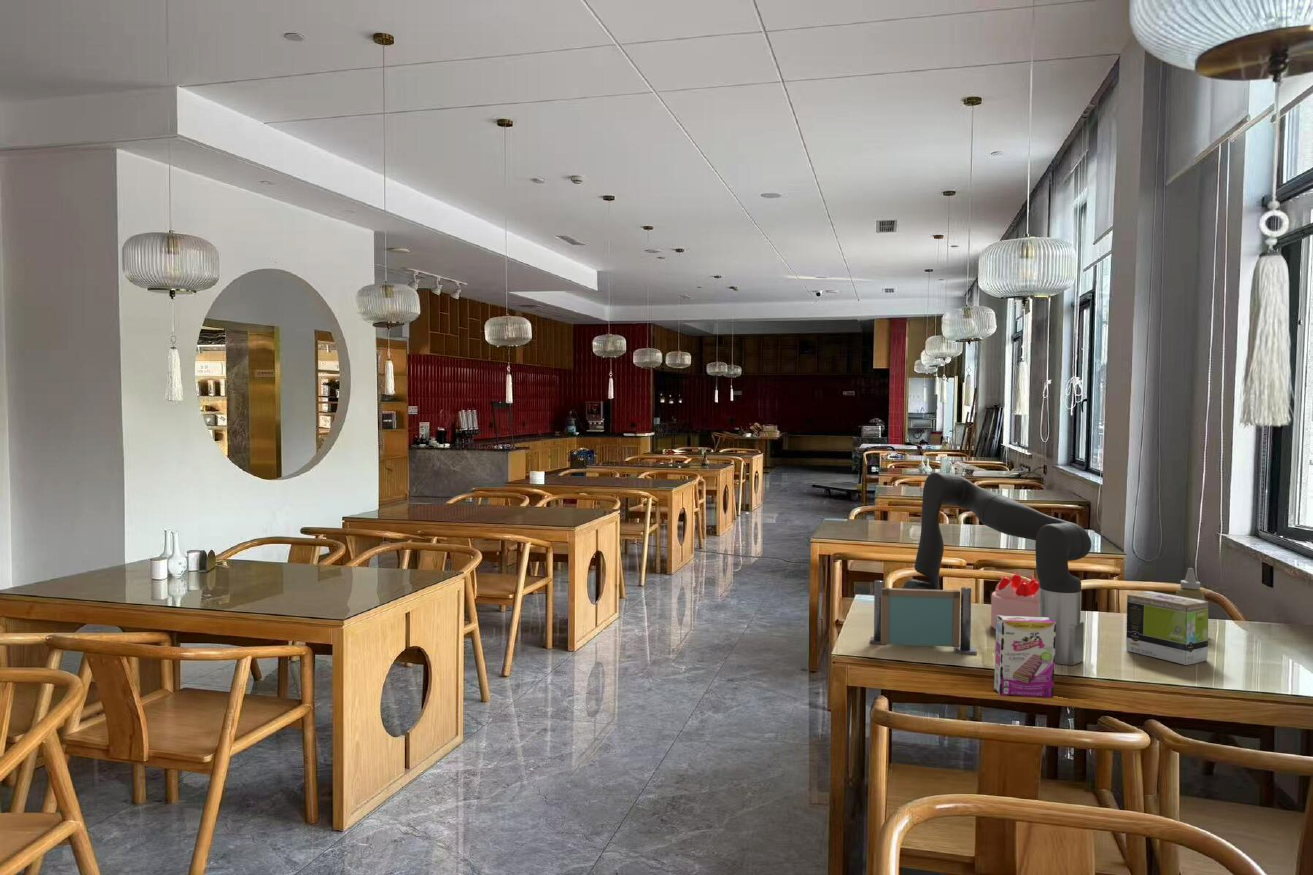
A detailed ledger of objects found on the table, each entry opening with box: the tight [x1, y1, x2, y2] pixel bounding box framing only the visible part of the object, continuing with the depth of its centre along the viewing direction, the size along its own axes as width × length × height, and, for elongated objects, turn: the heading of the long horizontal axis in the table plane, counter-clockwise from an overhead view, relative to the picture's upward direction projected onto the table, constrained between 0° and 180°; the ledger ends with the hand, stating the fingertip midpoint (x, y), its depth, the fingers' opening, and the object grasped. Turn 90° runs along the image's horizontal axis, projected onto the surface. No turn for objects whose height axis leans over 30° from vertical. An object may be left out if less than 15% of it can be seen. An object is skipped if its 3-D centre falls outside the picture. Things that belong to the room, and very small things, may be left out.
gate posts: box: [869, 579, 978, 656], centre depth 220 cm, size 26×7×16 cm, turn 74°
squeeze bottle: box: [1175, 567, 1206, 601], centre depth 234 cm, size 8×8×18 cm
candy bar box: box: [993, 615, 1056, 699], centre depth 183 cm, size 11×5×16 cm, turn 84°
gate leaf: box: [880, 587, 961, 648], centre depth 218 cm, size 19×2×14 cm, turn 81°
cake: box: [990, 574, 1039, 630], centre depth 238 cm, size 20×20×14 cm
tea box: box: [1125, 590, 1209, 666], centre depth 213 cm, size 15×10×15 cm, turn 30°
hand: (922, 621), depth 218 cm, fingers closed
